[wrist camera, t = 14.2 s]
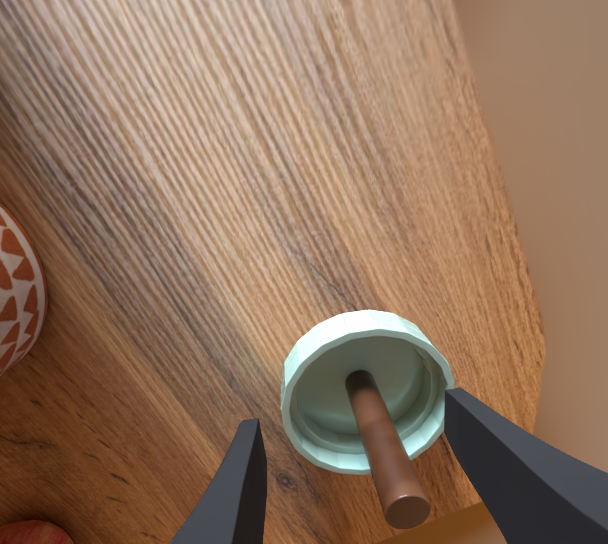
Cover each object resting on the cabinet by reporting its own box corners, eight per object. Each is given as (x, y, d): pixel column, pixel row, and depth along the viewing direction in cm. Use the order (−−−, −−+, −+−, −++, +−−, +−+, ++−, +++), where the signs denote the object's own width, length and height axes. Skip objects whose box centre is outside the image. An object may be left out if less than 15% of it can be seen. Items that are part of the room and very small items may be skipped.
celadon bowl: (434, 296, 22) (457, 316, 19) (433, 427, 26) (453, 461, 23) (270, 319, 22) (269, 343, 19) (291, 449, 25) (293, 486, 22)
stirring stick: (373, 367, 23) (430, 492, 15) (374, 392, 24) (430, 525, 15) (343, 372, 23) (384, 499, 14) (345, 397, 24) (385, 533, 15)
